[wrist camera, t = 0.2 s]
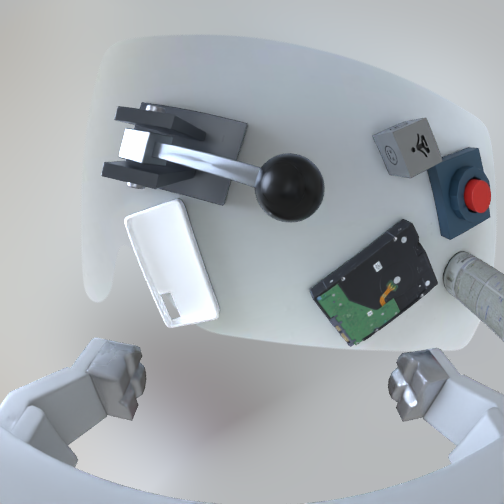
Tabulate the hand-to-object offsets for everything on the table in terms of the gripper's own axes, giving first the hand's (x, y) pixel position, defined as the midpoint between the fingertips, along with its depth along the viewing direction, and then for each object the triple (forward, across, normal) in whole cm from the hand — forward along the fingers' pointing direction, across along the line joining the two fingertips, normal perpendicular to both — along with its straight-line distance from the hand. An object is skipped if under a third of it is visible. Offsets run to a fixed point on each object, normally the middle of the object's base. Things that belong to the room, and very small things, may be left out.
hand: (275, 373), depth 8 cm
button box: (+24, -26, -6) cm, 36 cm away
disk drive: (+24, -15, +8) cm, 29 cm away
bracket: (+24, +9, -6) cm, 26 cm away
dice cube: (+24, -16, -9) cm, 30 cm away
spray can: (+24, -30, +6) cm, 39 cm away
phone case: (+24, +10, +7) cm, 27 cm away
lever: (+12, +3, -5) cm, 14 cm away
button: (+20, -26, -6) cm, 34 cm away
